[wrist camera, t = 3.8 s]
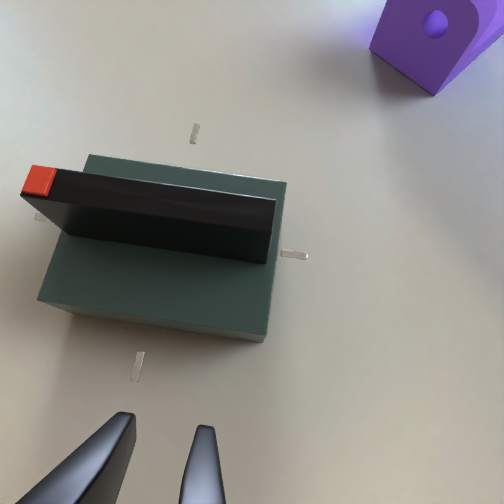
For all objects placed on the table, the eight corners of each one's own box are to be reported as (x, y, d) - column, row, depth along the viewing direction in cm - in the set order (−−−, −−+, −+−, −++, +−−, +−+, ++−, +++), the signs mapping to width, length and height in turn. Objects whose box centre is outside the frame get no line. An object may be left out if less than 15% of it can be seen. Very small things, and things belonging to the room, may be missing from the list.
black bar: (270, 237, 20) (278, 196, 15) (266, 264, 19) (273, 230, 15) (77, 209, 20) (28, 160, 15) (68, 235, 19) (15, 193, 15)
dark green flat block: (307, 176, 26) (318, 140, 22) (282, 401, 21) (291, 407, 17) (102, 147, 26) (77, 107, 22) (28, 360, 21) (-21, 357, 17)
